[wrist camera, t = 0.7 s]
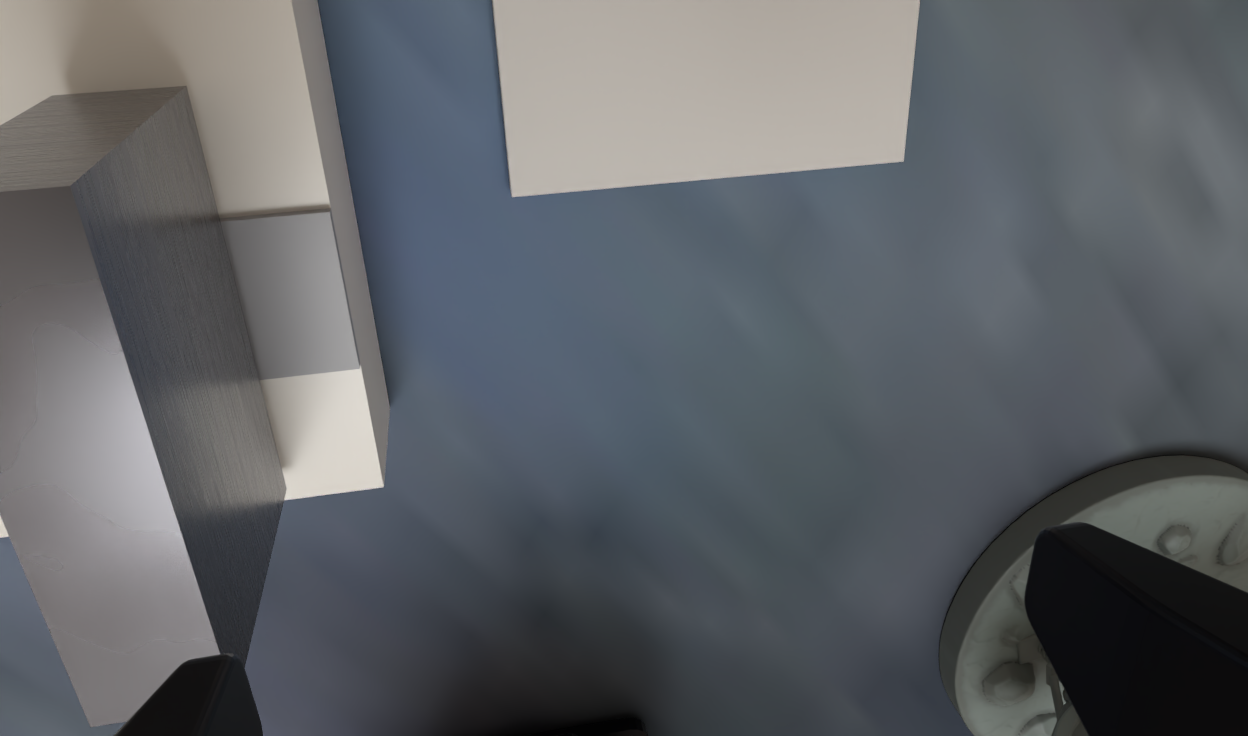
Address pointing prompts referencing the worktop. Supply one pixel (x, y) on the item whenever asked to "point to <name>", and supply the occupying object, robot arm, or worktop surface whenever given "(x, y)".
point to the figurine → (995, 587)
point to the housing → (247, 195)
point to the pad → (699, 88)
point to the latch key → (128, 396)
